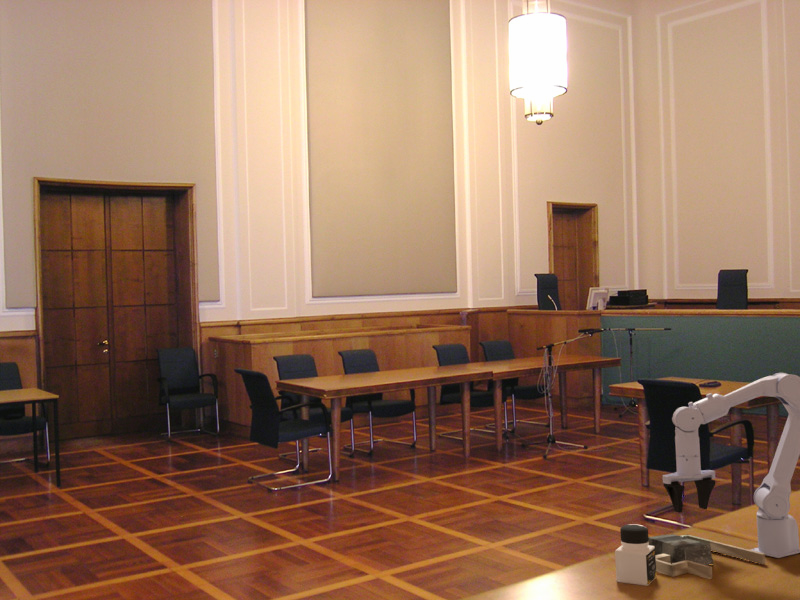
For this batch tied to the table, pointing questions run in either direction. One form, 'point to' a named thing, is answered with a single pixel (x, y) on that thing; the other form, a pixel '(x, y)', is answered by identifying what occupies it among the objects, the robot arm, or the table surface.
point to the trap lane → (699, 569)
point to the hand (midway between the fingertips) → (690, 510)
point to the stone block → (682, 549)
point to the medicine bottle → (635, 556)
